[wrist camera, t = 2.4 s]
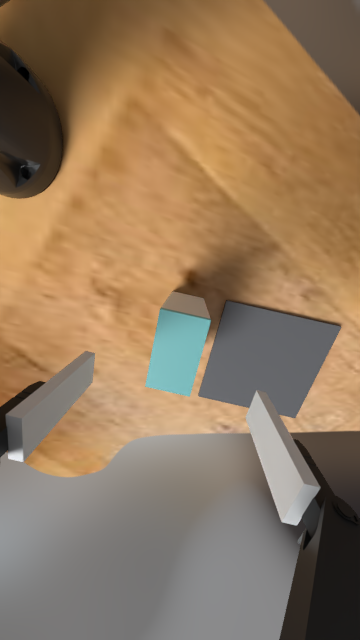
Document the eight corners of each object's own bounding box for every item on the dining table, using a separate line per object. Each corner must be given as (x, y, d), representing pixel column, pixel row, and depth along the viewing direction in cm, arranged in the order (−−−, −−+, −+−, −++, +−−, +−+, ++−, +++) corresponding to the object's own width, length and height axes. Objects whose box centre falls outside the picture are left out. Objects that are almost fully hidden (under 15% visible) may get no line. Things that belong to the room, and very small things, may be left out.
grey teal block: (172, 291, 29) (160, 308, 18) (203, 298, 29) (211, 320, 18) (162, 342, 32) (145, 386, 21) (190, 348, 32) (189, 396, 21)
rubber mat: (226, 300, 29) (226, 300, 29) (338, 325, 29) (341, 326, 29) (198, 394, 35) (198, 396, 34) (293, 415, 35) (295, 418, 34)
